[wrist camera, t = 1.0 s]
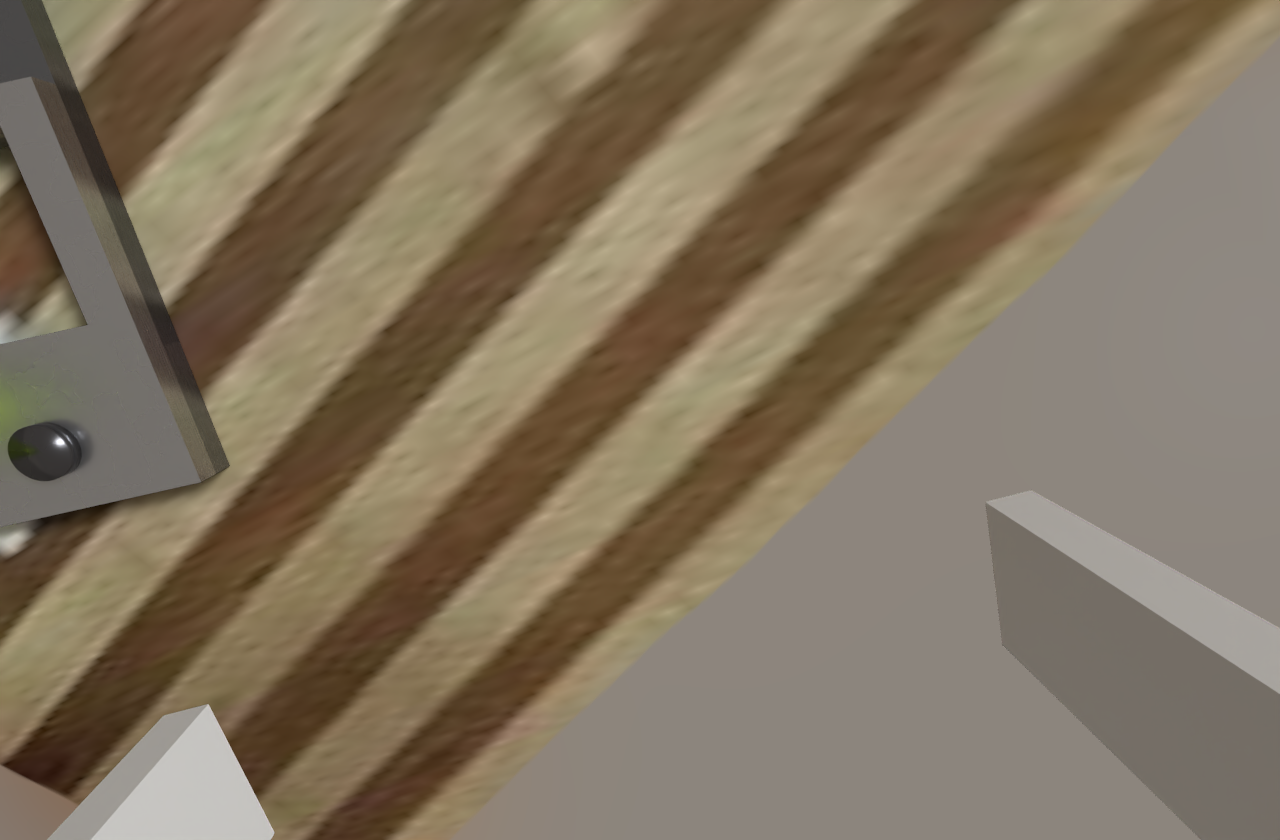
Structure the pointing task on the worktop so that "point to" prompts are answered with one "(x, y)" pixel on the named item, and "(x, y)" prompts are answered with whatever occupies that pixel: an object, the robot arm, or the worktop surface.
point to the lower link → (27, 47)
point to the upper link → (89, 350)
